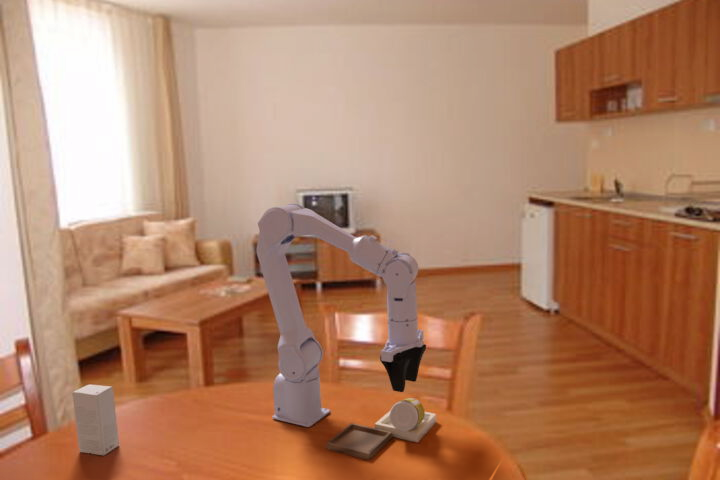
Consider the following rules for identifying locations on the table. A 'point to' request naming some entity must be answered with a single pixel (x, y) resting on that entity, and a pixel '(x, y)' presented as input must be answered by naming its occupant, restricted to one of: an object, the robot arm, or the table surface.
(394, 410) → the supplement bottle
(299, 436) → the table surface
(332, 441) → the gray square tray
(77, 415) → the skincare box
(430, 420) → the cream tray
